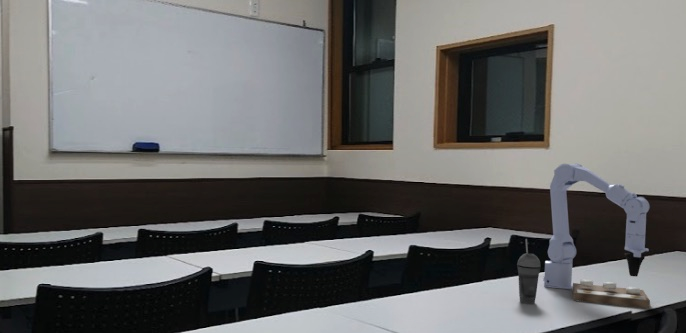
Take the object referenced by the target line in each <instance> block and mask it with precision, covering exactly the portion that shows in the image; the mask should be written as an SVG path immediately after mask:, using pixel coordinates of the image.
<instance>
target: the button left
mask: <svg viewBox="0 0 686 333" xmlns="http://www.w3.org/2000/svg"><path fill="white" fill-rule="evenodd" d="M579 284H580V285H581V286H585V287H593V285H594V280H591V279H584V278H583V279H580V281H579Z"/></svg>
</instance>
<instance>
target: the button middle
mask: <svg viewBox="0 0 686 333" xmlns="http://www.w3.org/2000/svg"><path fill="white" fill-rule="evenodd" d="M602 286H603V288H607V289H616V287H617V282H612V281H602Z"/></svg>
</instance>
